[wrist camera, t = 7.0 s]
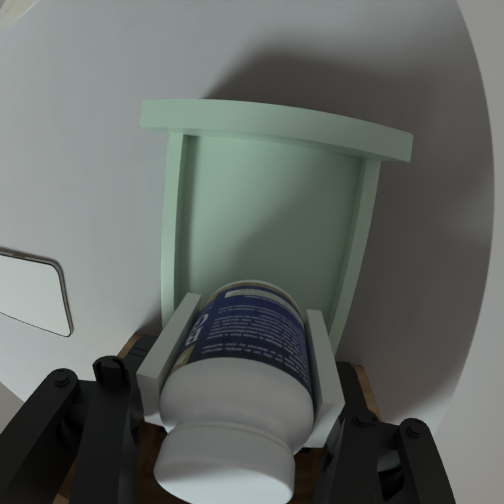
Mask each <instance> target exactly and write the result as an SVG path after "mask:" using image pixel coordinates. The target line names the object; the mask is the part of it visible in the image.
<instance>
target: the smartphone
mask: <svg viewBox="0 0 504 504" xmlns="http://www.w3.org/2000/svg"><path fill="white" fill-rule="evenodd" d="M9 255H10V256H9ZM45 262H46V263H45ZM0 313H2V314H4V315H7V316H9V317H11V318H14V319H16V320H19V321H21V322H24V323H27V324H29V325H32V326H35V327H37V328H40V329H43V330H46V331H49V332H52V333H55V334H58V335H61V336H64V337H69V336H70V335H71V334H72V333H73V327H72V323H71V319H70V314H69V310H68V306H67V302H66V294H65V289H64V283H63V276H62V273H61V270H60V268H59V267H58V266H57V265H56V264H55V263H54V262H51V261H45V260H40V259H35V258H30V257H25V256H21V255H16V254H12V253H7V252H3V251H0Z"/></svg>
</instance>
